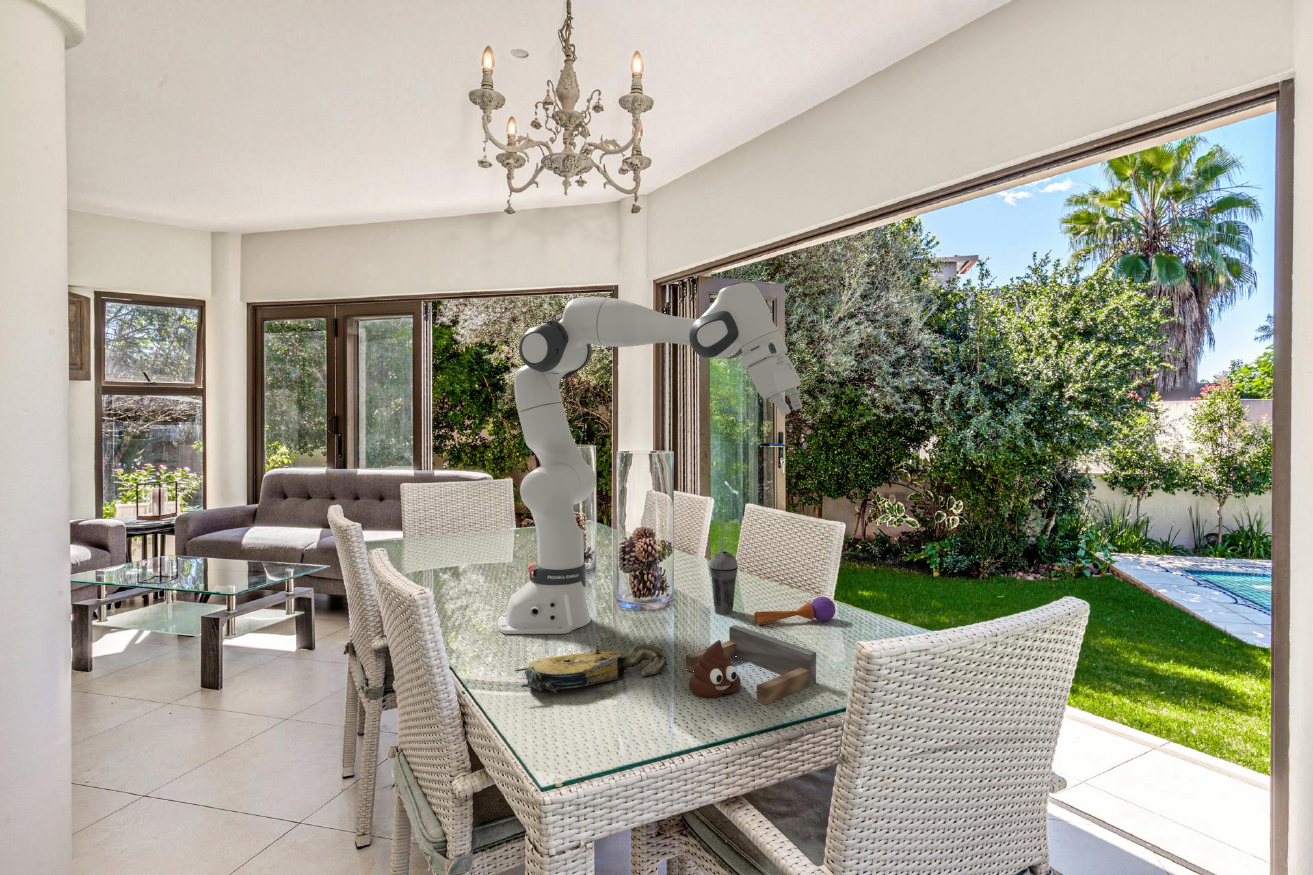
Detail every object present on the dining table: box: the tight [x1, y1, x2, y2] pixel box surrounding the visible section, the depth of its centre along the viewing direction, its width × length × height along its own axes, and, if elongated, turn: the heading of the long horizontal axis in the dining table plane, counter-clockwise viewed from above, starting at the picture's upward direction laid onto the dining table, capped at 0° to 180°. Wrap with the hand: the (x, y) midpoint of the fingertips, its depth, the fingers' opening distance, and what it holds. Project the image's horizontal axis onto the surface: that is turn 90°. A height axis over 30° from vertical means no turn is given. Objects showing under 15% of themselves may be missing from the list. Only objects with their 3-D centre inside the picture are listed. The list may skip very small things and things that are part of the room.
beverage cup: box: [709, 534, 739, 616], centre depth 176 cm, size 7×7×20 cm
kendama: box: [754, 596, 836, 626], centre depth 169 cm, size 6×6×20 cm
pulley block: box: [514, 643, 669, 694], centre depth 135 cm, size 14×6×30 cm
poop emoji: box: [688, 639, 742, 698], centre depth 130 cm, size 10×8×9 cm
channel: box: [685, 624, 817, 706], centre depth 136 cm, size 15×21×6 cm
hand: (792, 411), depth 146 cm, fingers open, 8 cm apart
